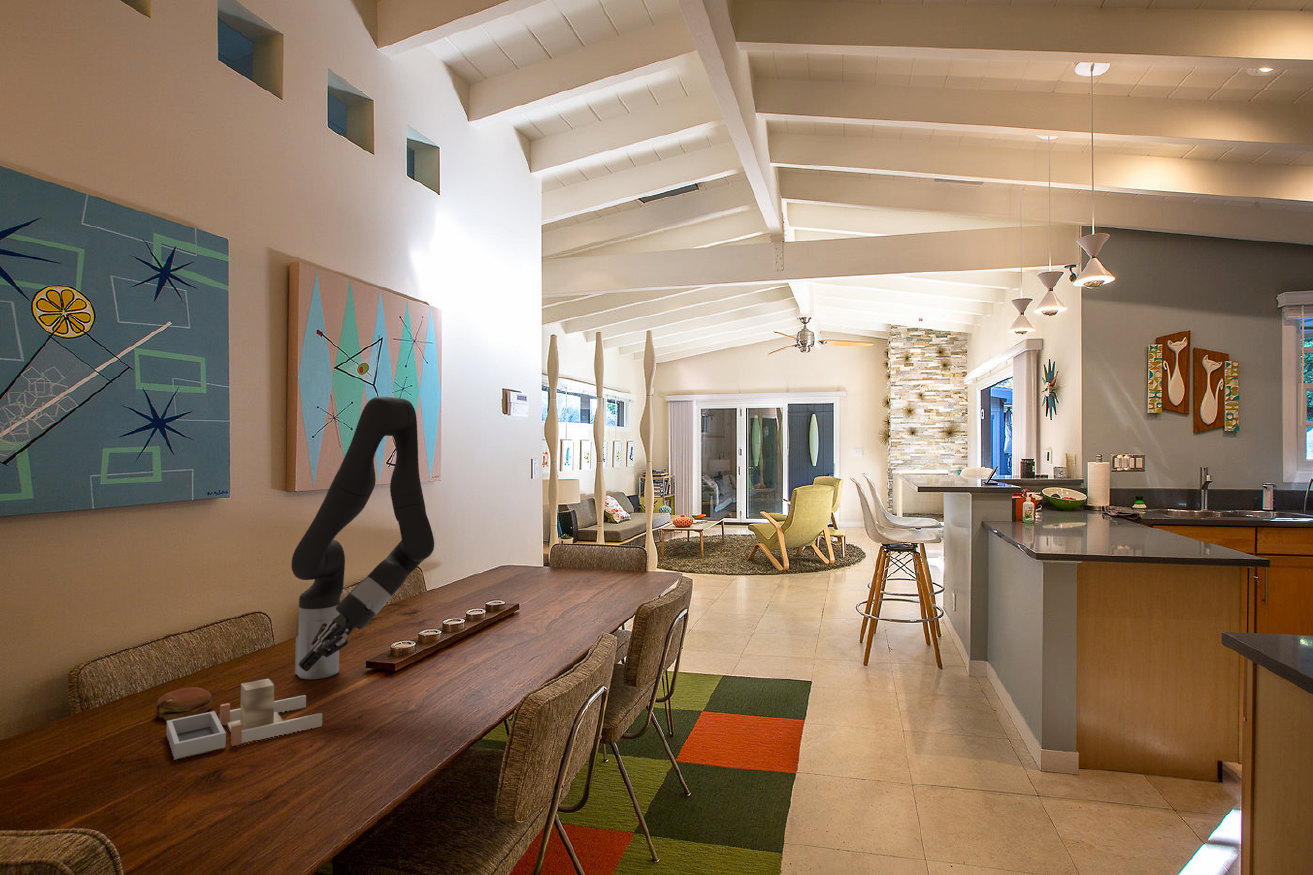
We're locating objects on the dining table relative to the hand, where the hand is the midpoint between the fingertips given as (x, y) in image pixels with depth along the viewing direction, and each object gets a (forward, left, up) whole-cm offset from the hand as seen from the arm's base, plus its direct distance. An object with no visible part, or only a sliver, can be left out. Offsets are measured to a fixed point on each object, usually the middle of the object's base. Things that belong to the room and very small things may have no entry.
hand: (302, 668), depth 146 cm
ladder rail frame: (-2, -5, -10) cm, 12 cm away
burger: (-25, -9, -11) cm, 28 cm away
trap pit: (-8, -17, -10) cm, 22 cm away
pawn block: (-3, -8, -11) cm, 14 cm away
